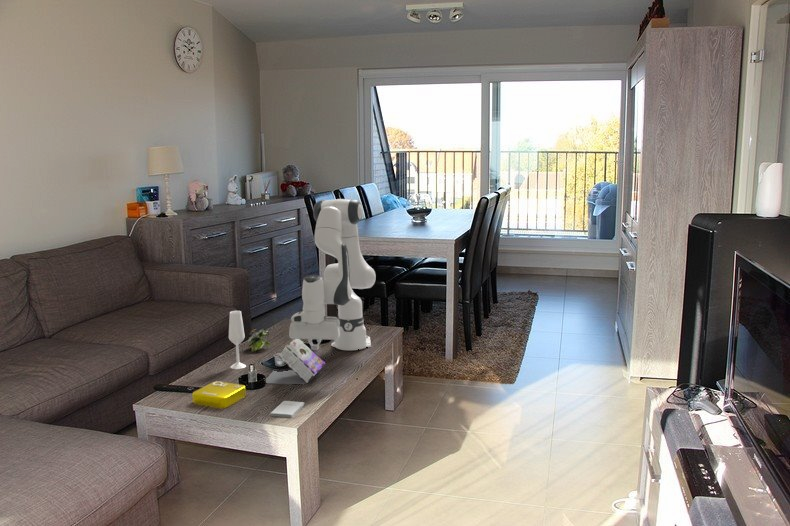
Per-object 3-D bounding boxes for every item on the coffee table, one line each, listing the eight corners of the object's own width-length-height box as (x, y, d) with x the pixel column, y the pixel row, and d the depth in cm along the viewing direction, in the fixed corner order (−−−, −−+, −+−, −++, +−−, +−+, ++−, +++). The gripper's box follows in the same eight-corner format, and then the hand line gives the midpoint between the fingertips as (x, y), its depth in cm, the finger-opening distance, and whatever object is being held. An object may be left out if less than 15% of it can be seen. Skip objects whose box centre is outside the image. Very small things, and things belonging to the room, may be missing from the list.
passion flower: (254, 358, 327) (256, 334, 332) (275, 356, 324) (277, 331, 329) (242, 351, 317) (244, 326, 322) (263, 348, 314) (265, 323, 319)
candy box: (317, 372, 289) (288, 345, 290) (326, 363, 288) (297, 335, 288) (306, 384, 276) (276, 355, 277) (315, 374, 275) (285, 345, 275)
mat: (274, 370, 293) (274, 369, 292) (313, 371, 290) (313, 371, 290) (262, 383, 277) (262, 382, 277) (304, 384, 275) (304, 384, 275)
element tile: (190, 404, 257) (189, 392, 256) (215, 391, 270) (215, 379, 270) (224, 410, 251) (223, 397, 250) (248, 396, 265) (247, 384, 264)
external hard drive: (270, 417, 244) (283, 404, 256) (291, 419, 243) (304, 406, 254) (269, 412, 244) (283, 400, 256) (291, 414, 242) (304, 401, 254)
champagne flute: (243, 363, 303) (240, 309, 299) (248, 367, 297) (245, 312, 293) (228, 365, 300) (225, 311, 295) (233, 370, 294) (230, 314, 290)
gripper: (341, 314, 280) (342, 347, 282) (291, 313, 282) (292, 346, 284) (338, 318, 274) (339, 352, 276) (287, 317, 276) (288, 351, 278)
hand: (315, 349), depth 280 cm, fingers closed
